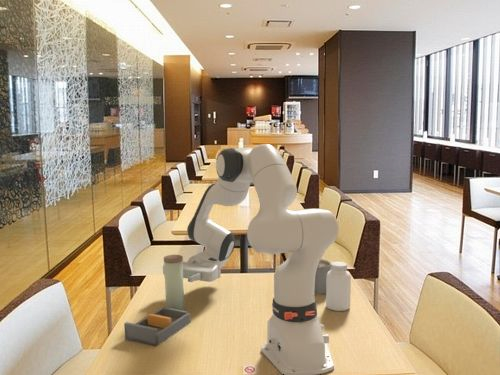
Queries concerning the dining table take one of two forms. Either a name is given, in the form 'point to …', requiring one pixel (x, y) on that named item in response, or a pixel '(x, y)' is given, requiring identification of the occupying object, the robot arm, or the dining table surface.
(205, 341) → the dining table surface
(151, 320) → the block
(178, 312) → the gray open tray
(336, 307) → the pill bottle
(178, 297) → the jar
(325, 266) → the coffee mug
